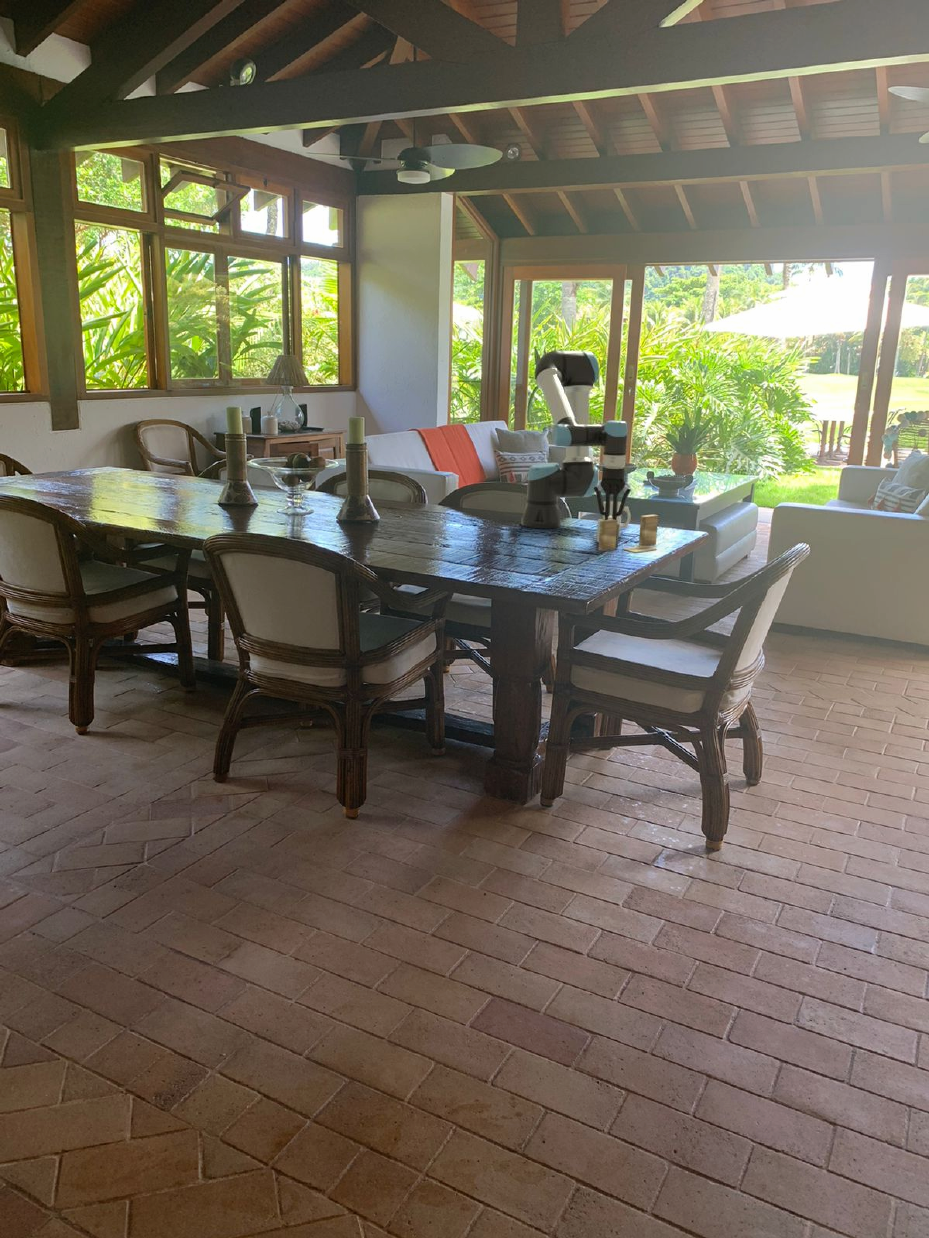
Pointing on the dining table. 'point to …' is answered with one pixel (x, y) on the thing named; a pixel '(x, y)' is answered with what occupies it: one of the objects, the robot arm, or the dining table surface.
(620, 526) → the mug
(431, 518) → the dining table surface
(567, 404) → the robot arm
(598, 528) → the gate door
